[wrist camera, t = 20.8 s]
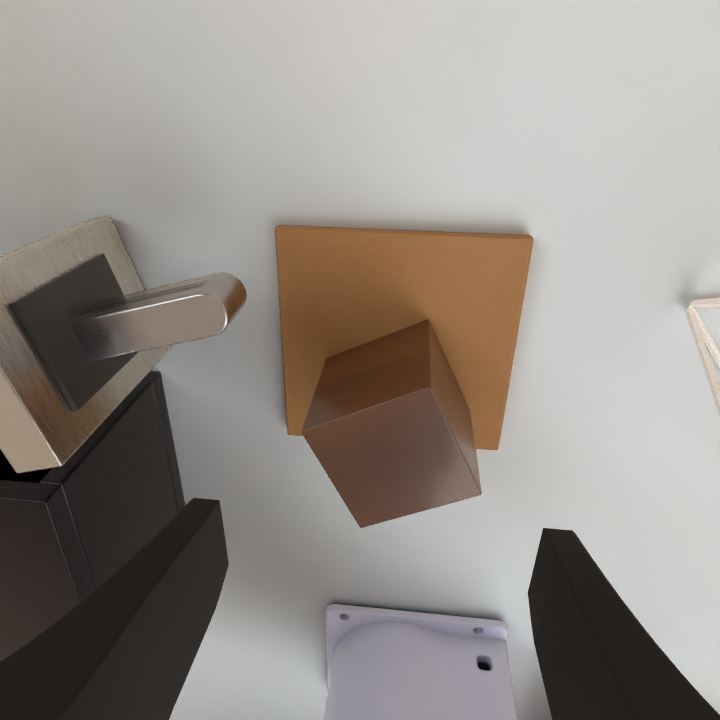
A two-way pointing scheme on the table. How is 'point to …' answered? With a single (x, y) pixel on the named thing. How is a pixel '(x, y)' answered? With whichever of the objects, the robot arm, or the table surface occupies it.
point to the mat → (402, 306)
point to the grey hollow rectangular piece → (87, 336)
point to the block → (393, 427)
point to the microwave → (84, 514)
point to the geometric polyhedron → (705, 343)
